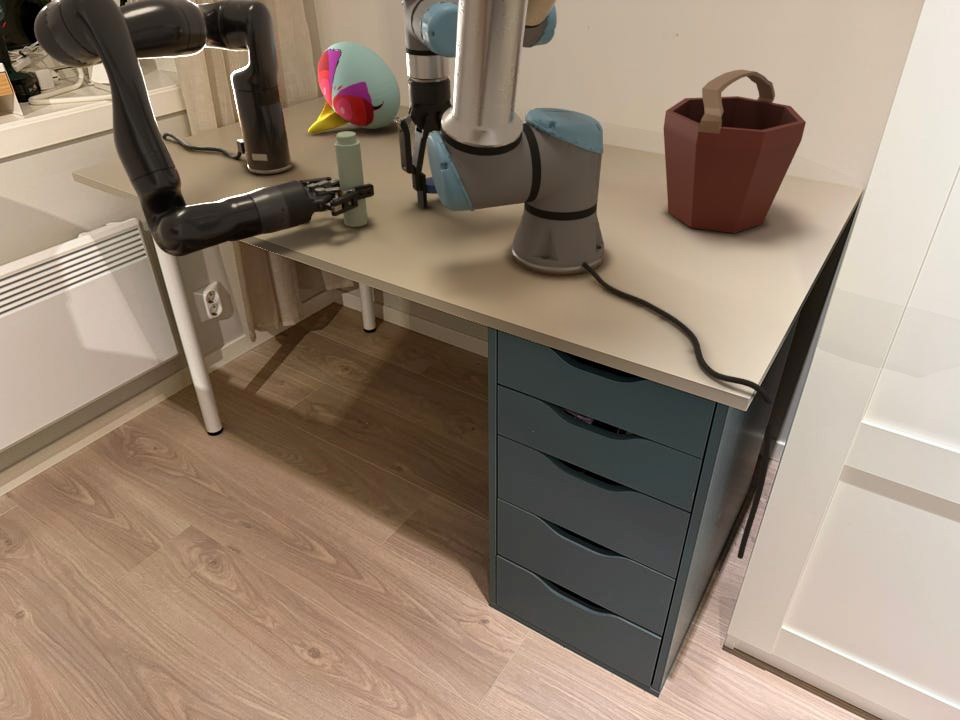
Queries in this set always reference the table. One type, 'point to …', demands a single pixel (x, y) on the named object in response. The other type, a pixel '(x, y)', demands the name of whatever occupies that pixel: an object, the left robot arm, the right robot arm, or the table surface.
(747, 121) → the bucket
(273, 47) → the left robot arm
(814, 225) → the table surface
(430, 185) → the lid
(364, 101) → the toy
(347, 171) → the bottle
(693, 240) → the table surface
